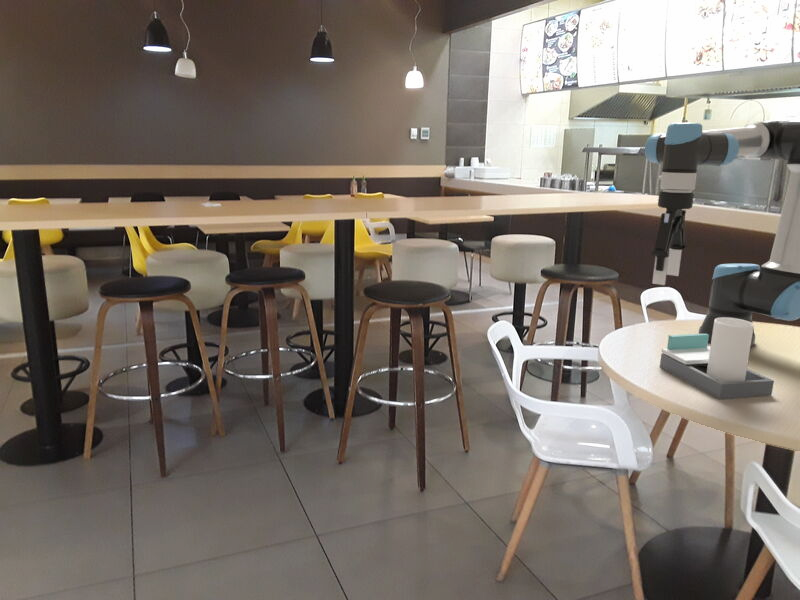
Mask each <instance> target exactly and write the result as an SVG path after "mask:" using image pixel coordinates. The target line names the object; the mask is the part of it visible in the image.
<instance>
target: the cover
mask: <svg viewBox="0 0 800 600" xmlns="http://www.w3.org/2000/svg"><path fill="white" fill-rule="evenodd" d="M708 338H709V335H708V334H698V333H693V334H692V333H689V334H671V335H668V340H667V347H666V348H661V353H664V354H666V355H668V356H670V357H672V358H674V359H676V360H678V361H679V362H681V363H683V364H685V365H686V364H701V363H708V360H709V353H710V346H711V345H708V344H709V342H708Z"/></svg>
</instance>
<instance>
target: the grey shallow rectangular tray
mask: <svg viewBox="0 0 800 600" xmlns="http://www.w3.org/2000/svg"><path fill="white" fill-rule="evenodd" d="M659 362H660V363H659V368H662V369H664V370H666V371H667V372H669V373H671V374H672V373H673V375H674V374H675V375H674V376H676V377H678V378H680V379H681V378H682V380H683V379H684V380H683V381H685V382H687V383H689V384H690V385H692V384H693V385H692V386H695V388H699V389H700V390H702V391H703V392H705V393H707V394H709V395H711V396H713V397H714V398H716V399H719V400H729V399H742V398H752V397H753V398H754V397H767V396H772V394H773V388H774V383H775V380H773V379H771V378H769V377H767V376H764V375H763V374H760V373H758V372H756V371H753V370H751V369H750V368H747V370H746V376H745V381H733V382H721V381H719V380H717V379H715V378H713V377H711V376H709V375H707V374H706V373H705V372H703V371H701V370H699V369H697V368H695V367H701V366H702V367H703V366H706V367H708V363H701V364H686V365H685V364H683V363H681V362H679V361H678V360H676V359H674V358H672V357H670V356H668V355H666V354H664V353H662V352H661V354H660V361H659Z"/></svg>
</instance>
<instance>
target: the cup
mask: <svg viewBox="0 0 800 600" xmlns="http://www.w3.org/2000/svg"><path fill="white" fill-rule="evenodd" d="M754 326H755V325H754V322H753V323H751V322H749V321H746V320H742V319H736V318H725V317H723V318H716V319H715V320H714V326H713V333H712V340H711V343H710V345H709V346H710V353H709V360H708V366H706V367H707V368H706V373H705V374H707V375H709V376H711V377H713V378H715V379H717V380H719V381H721V382H733V381H745V376H746V370H747V369H748V364H749V363H748V362H749V357H750V351H751V340H752V334H753V328H754ZM754 329H755V328H754Z"/></svg>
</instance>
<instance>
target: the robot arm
mask: <svg viewBox="0 0 800 600" xmlns="http://www.w3.org/2000/svg"><path fill="white" fill-rule="evenodd" d="M644 155H645V158H646V159H647V161H649V162H650V163H653V164H659V165H662V168H661V175H659V176H658V179H659V180H660V185H659V188H660V190H662V191H659V193H658V200H657V201H658V202H657V206H658V208H661V209H666V211H665V213H664V212H662V213H661V215H660V224H659V227H658V232H657V235H656V239H655V243H654V249H653V251H652V252H651V256H652V257H655V258H654V267H653V274H652V284H653V285H654V284H655V285H660V286H665V285H666V281H667V276H674V277H679V274H680V267H681V258H682V251H683V250H684V251H685V250H686V249H687V246H686V245H685V244H686V243H685V239H686V238H685V237H686V236H685V235H686V234H685V231H686V230H685V229H686V213H687V211H686V210H689V209H692V208H693V204H694V195H695V194H694V193H693V191H694V190H696V184H697V183H696V182H697V174H698V173H697V172H698V166H714V167H716V166H717V167H719V166H727V165H729V164H731V163H733V161H735V159H736V158H737V157H739V156H740V157H741V156H742V157H745V158H747V159H756V158H757V159H758V158H760V159H767V160H768V159H770V160H778V161H787V163H786V167H787V168H788V170H789V171H790V177H789V181H788V185H787V189H786V194H785V196H784V197H785V198H784V201H783V206H782V209H781V214H780V218H779V221H778V225H777V230H776V233H775V237H774V240H773V244H772V245H773V246H772V248H771V253H770V257H769V260H768V261H767V262H765V263H763V264H761V266H760V265H759V264H756V263H721V264H718V265H717V266H715V267H714V271H713V275H712V278H711V287H710V295H709V301H708V302H709V303H708V310H707V313H706V315H705V317H704V318H703V322H702V324H701V325H700V326H699V328H698V333H697V334H708V335H709V338H708V343H710V344H711V340H712V333H713V326H714V320H715V319H716V318H723V317H725V318H736V319H742V320H746V321H749V322H751V323H753V324H754V322H753V313H755V314H760V315H764V316H768V317H771V318H773V319H774V320H783V321H788V322H791V321H792V322H793V321H796V320H799V319H800V116H798V115H797V116H784V117H779V118H773V119H769V120H761V121H756V122H749V123H747V124H746V125H744V126H742V127H729V128H719V129H718V128H717V129H716V128H715V129H708V130H707V129H706V130H703V124H702V123H701V122H700V123H699V122H672V123H670V124H669V125H668V126H667V129H666V133H665V132H661V133H654V134H652V135H651V136H649V137H648V138H647V140H646V142H645V145H644ZM755 342H756V334H755V328H753V334H752V340H751V346H754V345H755ZM751 346H750V347H751Z"/></svg>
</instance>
